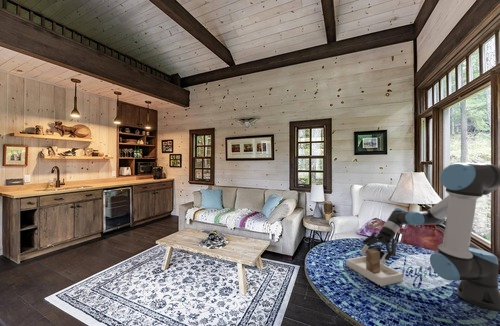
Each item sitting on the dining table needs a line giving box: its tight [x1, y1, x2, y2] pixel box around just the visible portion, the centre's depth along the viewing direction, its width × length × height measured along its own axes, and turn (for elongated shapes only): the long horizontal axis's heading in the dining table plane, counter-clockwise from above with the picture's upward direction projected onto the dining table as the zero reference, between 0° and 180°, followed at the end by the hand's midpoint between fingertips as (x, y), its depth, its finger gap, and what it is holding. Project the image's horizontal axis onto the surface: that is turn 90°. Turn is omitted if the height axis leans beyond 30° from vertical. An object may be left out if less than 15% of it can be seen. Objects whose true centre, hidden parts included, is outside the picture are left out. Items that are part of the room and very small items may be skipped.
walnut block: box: [365, 249, 381, 274], centre depth 124 cm, size 5×5×12 cm
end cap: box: [368, 244, 386, 259], centre depth 148 cm, size 10×7×7 cm
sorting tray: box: [345, 255, 404, 287], centre depth 124 cm, size 24×16×4 cm, turn 19°
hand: (370, 258), depth 124 cm, fingers open, 13 cm apart
